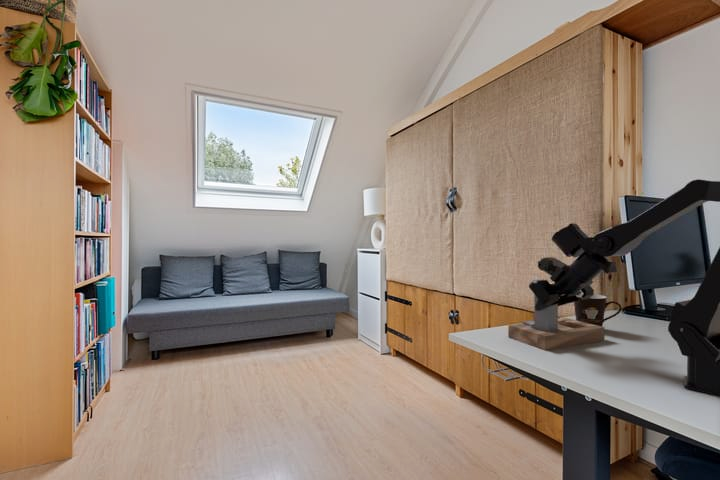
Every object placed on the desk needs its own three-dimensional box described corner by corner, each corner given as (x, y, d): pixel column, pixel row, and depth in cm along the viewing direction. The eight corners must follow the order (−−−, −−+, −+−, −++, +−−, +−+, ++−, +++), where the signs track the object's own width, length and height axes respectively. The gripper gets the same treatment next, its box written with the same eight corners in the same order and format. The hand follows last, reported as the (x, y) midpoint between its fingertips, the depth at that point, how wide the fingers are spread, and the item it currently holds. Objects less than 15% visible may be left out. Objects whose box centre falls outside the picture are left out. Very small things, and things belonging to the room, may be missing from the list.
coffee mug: (568, 328, 111) (568, 295, 110) (578, 323, 116) (579, 292, 116) (613, 336, 102) (613, 301, 102) (622, 331, 107) (622, 297, 107)
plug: (557, 334, 96) (557, 283, 96) (547, 336, 94) (547, 284, 94) (544, 331, 100) (544, 281, 99) (534, 333, 98) (534, 282, 98)
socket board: (604, 340, 98) (604, 325, 98) (544, 350, 90) (544, 333, 90) (564, 329, 110) (564, 315, 110) (508, 337, 101) (508, 322, 101)
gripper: (582, 246, 97) (545, 282, 107) (535, 248, 89) (499, 287, 99) (613, 278, 90) (570, 314, 100) (566, 283, 82) (524, 322, 92)
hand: (541, 308), depth 98 cm, fingers closed on plug, 4 cm apart
